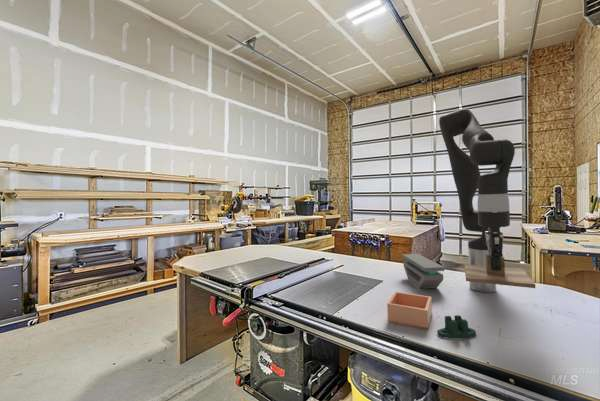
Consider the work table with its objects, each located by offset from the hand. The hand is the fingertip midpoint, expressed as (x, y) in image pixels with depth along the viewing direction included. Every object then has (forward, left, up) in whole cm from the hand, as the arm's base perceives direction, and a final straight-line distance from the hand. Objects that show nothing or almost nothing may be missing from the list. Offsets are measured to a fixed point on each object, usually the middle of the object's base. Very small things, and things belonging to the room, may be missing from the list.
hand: (494, 267), depth 78 cm
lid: (0, 0, -3) cm, 3 cm away
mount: (+6, -10, -20) cm, 23 cm away
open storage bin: (+1, -24, -19) cm, 30 cm away
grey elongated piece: (-36, -25, -19) cm, 48 cm away
